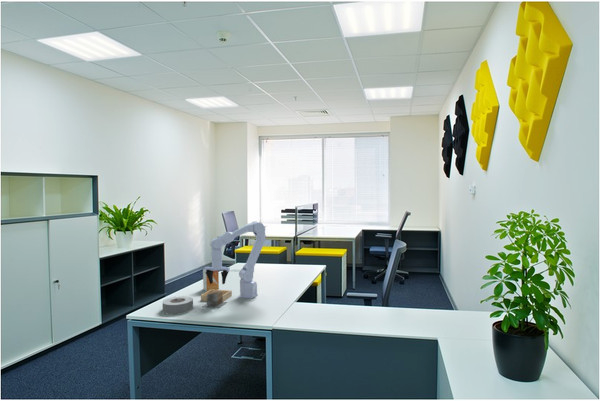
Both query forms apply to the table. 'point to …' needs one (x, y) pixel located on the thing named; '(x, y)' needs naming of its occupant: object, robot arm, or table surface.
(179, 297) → the tape roll
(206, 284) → the small box
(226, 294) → the shallow wooden tray
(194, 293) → the table surface
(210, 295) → the box
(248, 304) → the table surface
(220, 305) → the panel
